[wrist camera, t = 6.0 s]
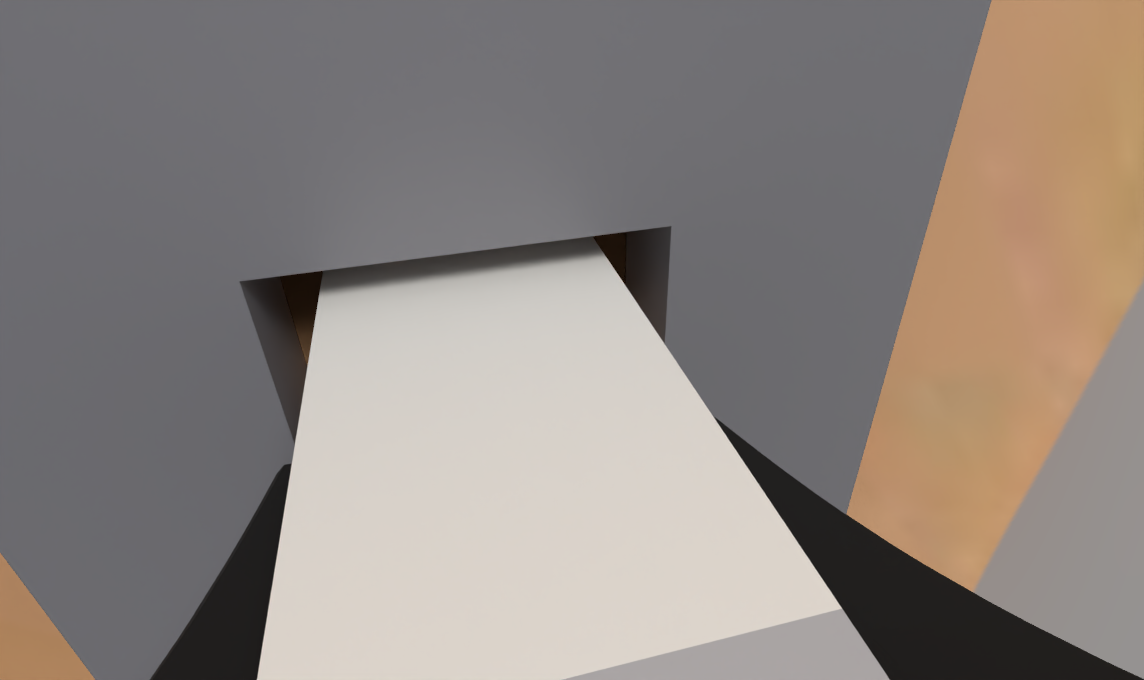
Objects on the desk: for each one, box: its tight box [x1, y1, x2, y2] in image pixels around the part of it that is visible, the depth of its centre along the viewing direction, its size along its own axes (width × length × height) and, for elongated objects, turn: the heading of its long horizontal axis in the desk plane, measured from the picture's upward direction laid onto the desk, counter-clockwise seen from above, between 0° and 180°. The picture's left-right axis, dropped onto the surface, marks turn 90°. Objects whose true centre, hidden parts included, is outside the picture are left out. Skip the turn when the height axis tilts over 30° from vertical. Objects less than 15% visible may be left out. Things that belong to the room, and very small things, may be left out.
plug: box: [257, 236, 890, 680], centre depth 8 cm, size 4×4×8 cm
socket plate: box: [0, 0, 991, 680], centre depth 11 cm, size 14×14×3 cm
